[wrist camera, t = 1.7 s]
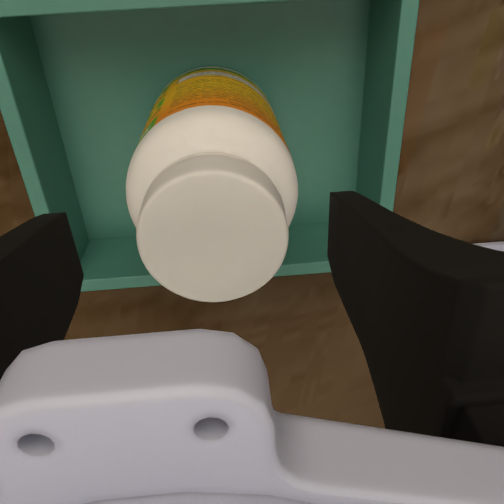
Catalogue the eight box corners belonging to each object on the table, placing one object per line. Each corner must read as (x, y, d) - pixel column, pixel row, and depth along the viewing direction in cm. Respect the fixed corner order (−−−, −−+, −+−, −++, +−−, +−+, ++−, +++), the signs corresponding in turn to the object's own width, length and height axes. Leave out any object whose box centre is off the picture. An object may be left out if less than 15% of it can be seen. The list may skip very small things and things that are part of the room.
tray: (385, -30, 18) (423, -28, 15) (362, 226, 24) (386, 268, 21) (10, -9, 17) (-38, -3, 14) (81, 247, 23) (59, 293, 20)
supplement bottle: (148, 58, 19) (96, 134, 10) (281, 69, 19) (332, 148, 11) (152, 184, 21) (113, 321, 13) (268, 189, 22) (300, 325, 14)
